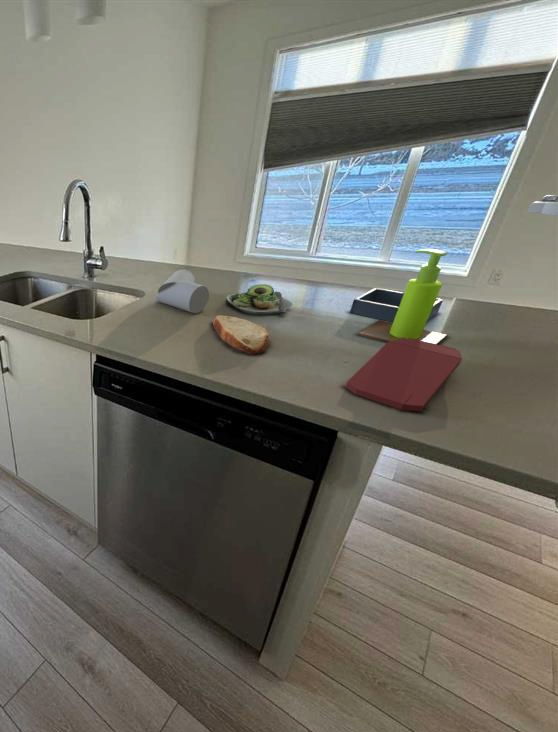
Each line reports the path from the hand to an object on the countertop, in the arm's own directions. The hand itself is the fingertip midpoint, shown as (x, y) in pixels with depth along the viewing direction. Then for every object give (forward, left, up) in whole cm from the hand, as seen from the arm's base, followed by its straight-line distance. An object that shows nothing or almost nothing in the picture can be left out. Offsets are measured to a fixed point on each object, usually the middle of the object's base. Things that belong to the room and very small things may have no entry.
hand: (536, 203), depth 78 cm
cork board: (+11, +5, -30) cm, 32 cm away
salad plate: (+47, +7, -30) cm, 56 cm away
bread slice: (+38, +32, -30) cm, 58 cm away
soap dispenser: (+11, +5, -30) cm, 32 cm away
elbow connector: (+66, +20, -30) cm, 75 cm away
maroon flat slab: (+3, +28, -30) cm, 41 cm away
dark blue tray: (+18, -10, -30) cm, 36 cm away
